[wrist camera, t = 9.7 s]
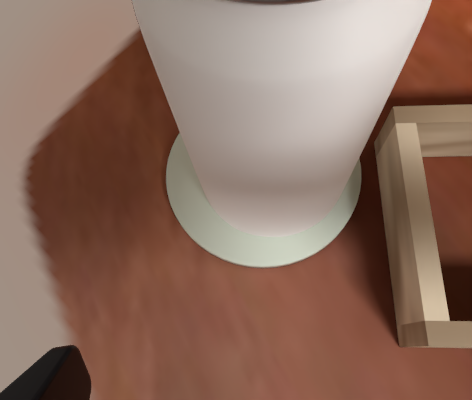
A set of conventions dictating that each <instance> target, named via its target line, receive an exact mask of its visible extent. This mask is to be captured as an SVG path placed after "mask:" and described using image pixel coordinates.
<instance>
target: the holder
mask: <svg viewBox="0 0 472 400" xmlns="http://www.w3.org/2000/svg"><path fill="white" fill-rule="evenodd" d="M374 146H375V154H376V162H377V170H378V178H379V186H380V194H381V202H382V210H383V219H384V227H385V235H386V243H387V251H388V259H389V267H390V275H391V283H392V292H393V300H394V308H395V316H396V324H397V332H398V340H399V347H436V348H472V321H450V319H449V313H448V307H447V301H446V295H445V289H444V284H443V278H442V272H441V266H440V260H439V254H438V248H437V243H436V237H435V231H434V225H433V219H432V213H431V207H430V202H429V196H428V190H427V184H426V178H425V172H424V166H423V161H422V157H437V156H472V104H468V105H430V106H393V108H392V109H391V111H390V113H389V115H388V117H387V119H386V121H385V123H384V125H383V127H382V129H381V130H380V132H379V134H378V136H377V138H376V140H375V142H374Z"/></svg>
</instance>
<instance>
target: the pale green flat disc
mask: <svg viewBox="0 0 472 400" xmlns="http://www.w3.org/2000/svg"><path fill="white" fill-rule="evenodd" d="M166 186H167V194H168V197H169V201H170V205H171V207H172V209H173V212H174V214H175V216H176V218H177V219H178V221H179V222H180V224H181V226H182V227H183V229H184V230H185V231H186V232H187V234H188V235H189V236H190V237H191V238H192V240H194V241H195V242H196V243H197V244H198V245H199V246H200V247H201V248H203V249H204V250H206V251H207V252H209V253H210V254H211V255H213V256H215V257H217V258H219V259H221V260H223V261H226V262H229V263H232V264H235V265H239V266H244V267H249V268H277V267H282V266H287V265H291V264H294V263H297V262H300V261H303V260H305V259H307V258H309V257H311V256H313V255H315V254H316V253H318V252H319V251H321V250H322V249H324V248H325V247H326V246H327V245H328V244H330V243H331V242H332V241H333V240H334V239H335V238H336V237H337V236H338V234H339V233H340V232H341V231H342V230H343V228H344V227H345V225H346V223H347V222H348V220H349V219H350V217H351V215H352V213H353V211H354V209H355V206H356V204H357V201H358V197H359V194H360V188H361V164H360V159H358V161H357V163H356V165H355V167H354V169H353V171H352V174H351V176H350V178H349V180H348V182H347V184H346V186H345V188H344V190H343V192H342V194H341V195H340V197H339V199H338V201H337V203H336V204H335V206H334V207H333V208H332V210H331V211H330V212H329V213H328V214H327V215H326V217H324V218H323V219H322V220H321V221H320V222H318V223H317V224H316V225H314V226H313V227H311V228H309V229H307V230H305V231H303V232H300V233H297V234H294V235H290V236H284V237H264V236H256V235H251V234H248V233H245V232H242V231H239V230H237V229H235V228H234V227H232V226H231V225H229V224H228V223H227V222H226V221H224V220H223V219H222V218H221V217H220V216H219V215H218V214H217V213H216V211H215V210H214V209H213V208H212V206H211V205H210V203H209V201H208V199H207V198H206V195H205V193H204V191H203V189H202V186H201V184H200V181H199V179H198V177H197V174H196V172H195V169H194V167H193V164H192V162H191V159H190V157H189V154H188V152H187V149H186V147H185V144H184V141H183V139H182V136H181V134H180V133H179V134H178V136H177V138H176V140H175V142H174V144H173V146H172V148H171V151H170V155H169V158H168V163H167V169H166Z"/></svg>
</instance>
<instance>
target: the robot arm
mask: <svg viewBox="0 0 472 400" xmlns="http://www.w3.org/2000/svg"><path fill="white" fill-rule="evenodd" d="M90 393H91V379H90V375H89V373H88V370H87V368H86V366H85V363H84V361H83V358H82V356H81V353H80V351H79V349H78V348H77V347H76V346H74V345H68V346H62V347H56V348H53V349H51V350H50V351H48V352H47V353H46V354H45V355H43V356H42V357H41V358H40V359H39V360H38V361H37V362H35V363H34V364H33V365H32V366H31V367H30V368H29V369H28V370H26V371H25V372H24V373H23V374H22V375H20V376H19V377H18V378H17V379H16V380H15V381H14V382H12V383H11V384H10V385H9V386H8V387H7V388H5V390H3V391H2V392H1V393H0V400H89V399H90Z"/></svg>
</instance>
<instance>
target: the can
mask: <svg viewBox="0 0 472 400" xmlns="http://www.w3.org/2000/svg"><path fill="white" fill-rule="evenodd" d="M431 1H432V0H132V4H133V8H134V11H135V15H136V18H137V21H138V24H139V27H140V30H141V32H142V35H143V38H144V41H145V44H146V46H147V49H148V51H149V54H150V57H151V59H152V62H153V65H154V67H155V70H156V72H157V75H158V78H159V80H160V83H161V85H162V88H163V90H164V93H165V96H166V98H167V101H168V103H169V106H170V108H171V111H172V114H173V116H174V119H175V121H176V124H177V126H178V129H179V131H180V134H181V136H182V139H183V141H184V144H185V147H186V149H187V152H188V154H189V157H190V159H191V162H192V164H193V167H194V169H195V172H196V174H197V177H198V179H199V181H200V184H201V186H202V189H203V191H204V193H205V195H206V198H207V199H208V201H209V203H210V205H211V206H212V208H213V209H214V210H215V211H216V213H217V214H218V215H219V216H220V217H221V218H222V219H223V220H224V221H226V222H227V223H228V224H229V225H231V226H232V227H234V228H235V229H237V230H239V231H242V232H245V233H248V234H251V235H256V236H264V237H284V236H290V235H294V234H297V233H300V232H303V231H305V230H307V229H309V228H311V227H313V226H314V225H316V224H317V223H318V222H320V221H321V220H322V219H323V218H324V217H326V215H327V214H328V213H329V212H330V211H331V210H332V208H333V207H334V206H335V204H336V203H337V201H338V199H339V197H340V195H341V194H342V192H343V190H344V188H345V186H346V184H347V182H348V180H349V178H350V176H351V174H352V171H353V169H354V167H355V165H356V163H357V161H358V159H359V157H360V155H361V153H362V151H363V149H364V147H365V145H366V143H367V141H368V139H369V137H370V134H371V132H372V130H373V128H374V126H375V124H376V122H377V120H378V118H379V116H380V114H381V112H382V110H383V107H384V105H385V103H386V101H387V99H388V97H389V95H390V93H391V91H392V89H393V86H394V84H395V82H396V80H397V78H398V76H399V74H400V72H401V70H402V68H403V65H404V63H405V61H406V59H407V57H408V55H409V53H410V51H411V48H412V46H413V44H414V42H415V40H416V38H417V36H418V33H419V31H420V29H421V26H422V24H423V22H424V19H425V17H426V15H427V12H428V10H429V7H430V4H431Z"/></svg>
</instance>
